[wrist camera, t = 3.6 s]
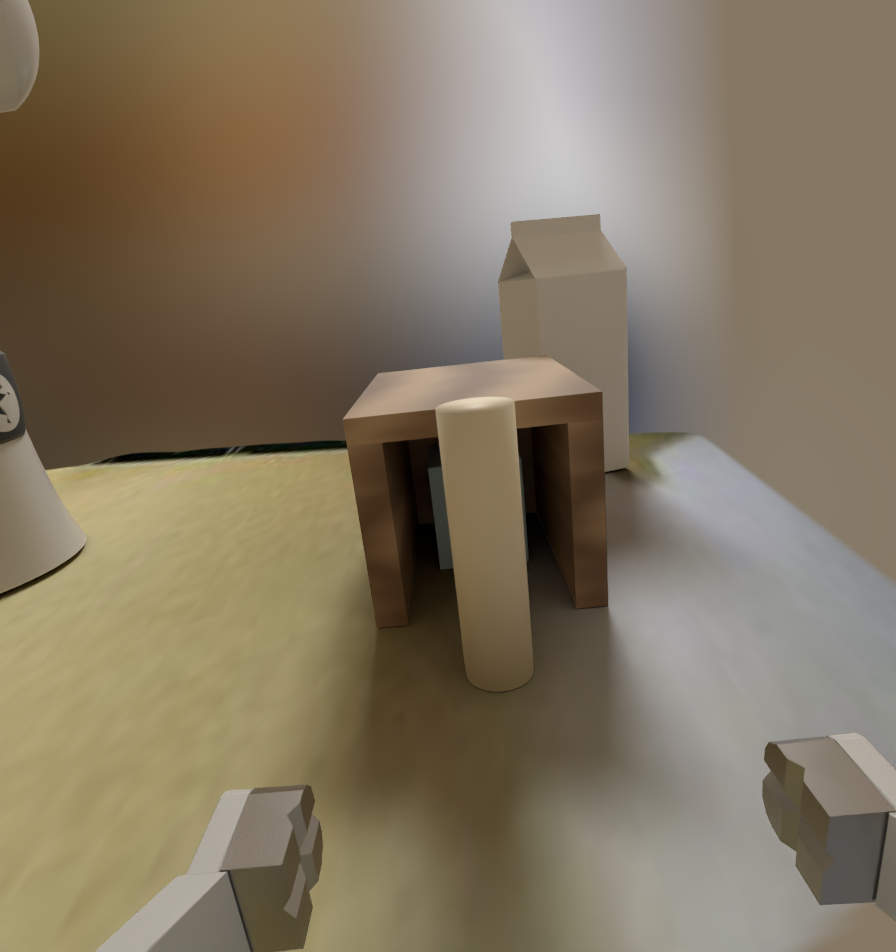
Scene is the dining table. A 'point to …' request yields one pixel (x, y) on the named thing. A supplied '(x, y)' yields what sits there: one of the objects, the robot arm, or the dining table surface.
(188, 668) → the dining table surface
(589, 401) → the walnut cubby
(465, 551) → the cream rounded block
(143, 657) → the dining table surface
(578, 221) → the milk carton
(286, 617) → the dining table surface
